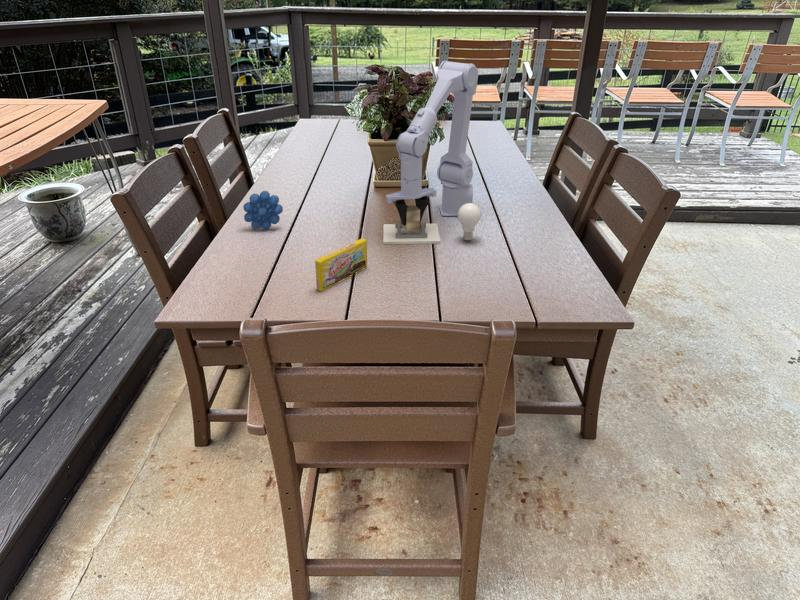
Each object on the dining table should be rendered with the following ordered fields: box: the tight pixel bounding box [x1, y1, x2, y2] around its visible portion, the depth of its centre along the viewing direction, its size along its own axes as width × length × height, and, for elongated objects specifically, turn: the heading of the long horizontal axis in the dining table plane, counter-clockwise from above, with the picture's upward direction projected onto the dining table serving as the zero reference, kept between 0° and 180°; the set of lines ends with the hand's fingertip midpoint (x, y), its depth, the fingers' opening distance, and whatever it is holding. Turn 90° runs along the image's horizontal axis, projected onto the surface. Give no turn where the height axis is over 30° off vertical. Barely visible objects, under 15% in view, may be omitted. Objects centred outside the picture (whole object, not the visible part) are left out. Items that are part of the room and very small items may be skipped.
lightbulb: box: [457, 202, 482, 242], centre depth 152 cm, size 6×6×11 cm
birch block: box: [402, 204, 420, 231], centre depth 156 cm, size 4×4×6 cm
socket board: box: [382, 222, 441, 245], centre depth 158 cm, size 16×12×2 cm
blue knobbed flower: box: [243, 190, 284, 231], centre depth 160 cm, size 12×7×12 cm, turn 91°
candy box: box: [314, 237, 368, 292], centre depth 135 cm, size 16×2×8 cm, turn 139°
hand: (411, 223), depth 156 cm, fingers closed on birch block, 4 cm apart
